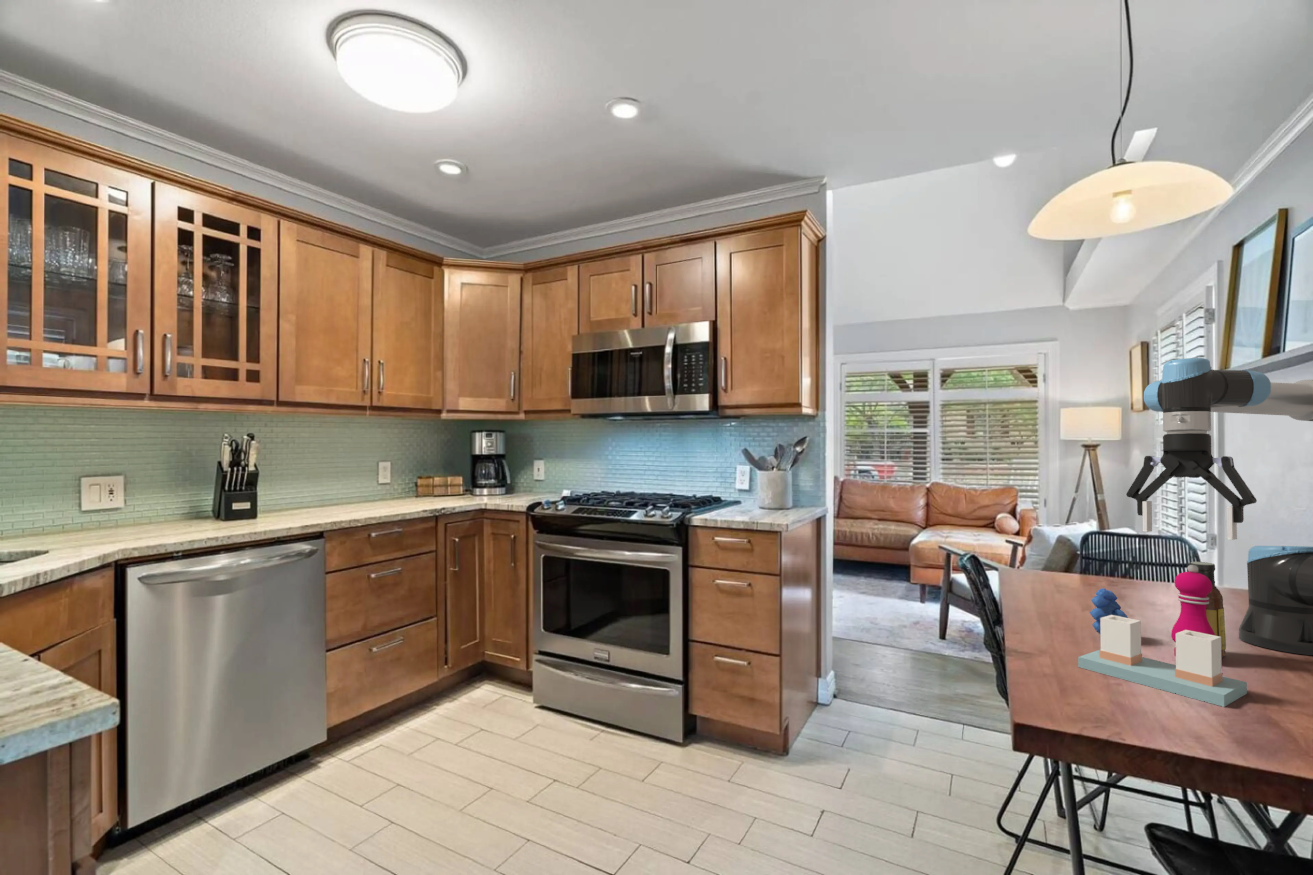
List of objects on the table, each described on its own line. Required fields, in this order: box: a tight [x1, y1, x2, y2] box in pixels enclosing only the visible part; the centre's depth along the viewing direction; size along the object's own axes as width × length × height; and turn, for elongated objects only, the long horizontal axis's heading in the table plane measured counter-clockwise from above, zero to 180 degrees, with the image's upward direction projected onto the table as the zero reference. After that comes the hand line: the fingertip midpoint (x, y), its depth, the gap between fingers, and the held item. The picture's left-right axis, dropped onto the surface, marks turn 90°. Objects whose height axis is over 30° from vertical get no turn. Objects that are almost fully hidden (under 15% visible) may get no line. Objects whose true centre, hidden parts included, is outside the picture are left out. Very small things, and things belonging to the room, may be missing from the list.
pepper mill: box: [1170, 564, 1215, 658], centre depth 126 cm, size 7×7×20 cm
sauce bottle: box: [1189, 561, 1227, 658], centre depth 130 cm, size 7×6×20 cm
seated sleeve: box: [1175, 630, 1224, 687], centre depth 109 cm, size 5×5×8 cm
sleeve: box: [1099, 615, 1143, 666], centre depth 119 cm, size 5×5×8 cm
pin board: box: [1077, 648, 1248, 708], centre depth 114 cm, size 12×22×6 cm, turn 32°
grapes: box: [1089, 587, 1129, 637], centre depth 139 cm, size 12×7×12 cm, turn 123°
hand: (1187, 535), depth 123 cm, fingers open, 13 cm apart
